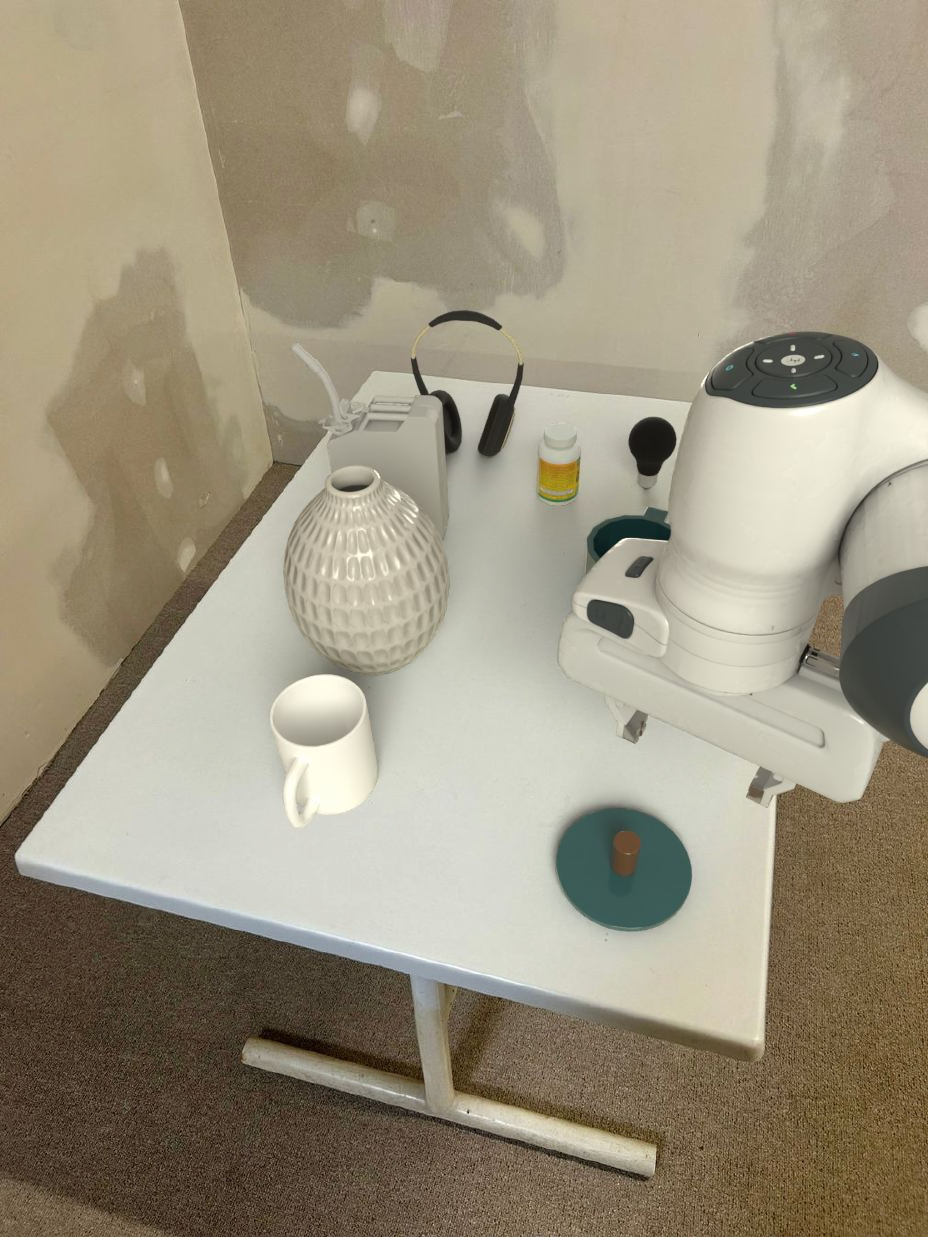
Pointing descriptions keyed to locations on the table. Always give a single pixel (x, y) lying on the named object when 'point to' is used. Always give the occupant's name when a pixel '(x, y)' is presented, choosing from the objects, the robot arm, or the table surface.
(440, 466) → the fuel canister
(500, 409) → the headphones
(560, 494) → the supplement bottle
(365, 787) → the cup
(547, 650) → the table surface
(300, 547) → the vase
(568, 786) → the table surface
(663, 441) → the light bulb
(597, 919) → the lid
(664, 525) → the cooking pot
